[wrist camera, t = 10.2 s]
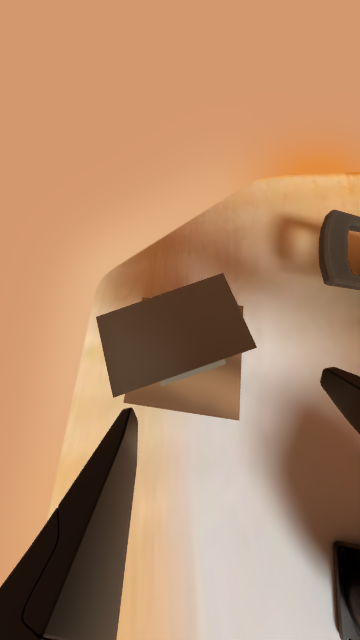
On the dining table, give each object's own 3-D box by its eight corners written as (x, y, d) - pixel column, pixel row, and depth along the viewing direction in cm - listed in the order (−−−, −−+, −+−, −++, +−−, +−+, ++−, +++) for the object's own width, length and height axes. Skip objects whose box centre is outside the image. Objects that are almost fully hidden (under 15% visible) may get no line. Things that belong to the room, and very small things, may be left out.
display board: (235, 416, 19) (239, 420, 17) (128, 399, 20) (123, 402, 19) (239, 309, 22) (243, 306, 20) (145, 301, 23) (142, 297, 22)
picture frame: (224, 363, 19) (277, 361, 7) (163, 385, 19) (105, 422, 7) (207, 321, 20) (227, 255, 8) (150, 341, 20) (82, 305, 8)
